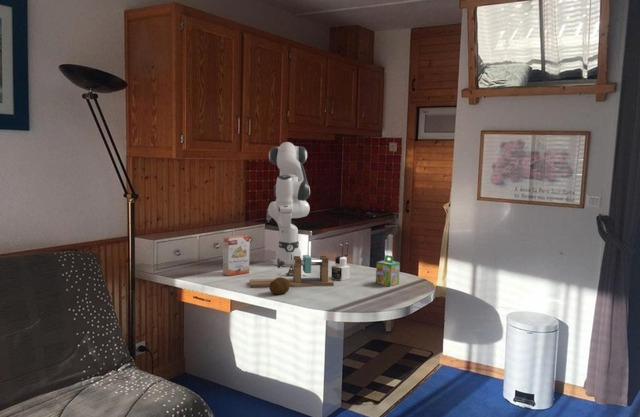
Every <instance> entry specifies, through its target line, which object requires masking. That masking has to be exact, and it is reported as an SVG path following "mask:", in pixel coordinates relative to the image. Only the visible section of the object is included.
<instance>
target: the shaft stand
mask: <svg viewBox="0 0 640 417" xmlns="http://www.w3.org/2000/svg"><path fill="white" fill-rule="evenodd" d="M320 259H322V265H319V277H302V266H301V260H302V257H301V258H300V256H294V260H295V266H293V277H292V278H291V277H290V278H286V279H287V280H288V281H289V282H290V288H296V287H297V288H298V287H303V288H304V287H328V286H329V287H331V286H335V285H334V281H333V279H332V278H330V277H329V257H328V256H327V255H319V260H320ZM275 279H276V278H262V279H261V278H257V279H255V278H254V279H249V284H250V288H251V289H256V288H257V289H258V288H260V289H262V288H263V289H264V288H265V289H266V288H269V286H270V283H271V282H272V281H273V280H275Z"/></svg>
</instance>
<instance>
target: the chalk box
mask: <svg viewBox="0 0 640 417" xmlns="http://www.w3.org/2000/svg"><path fill="white" fill-rule="evenodd" d="M388 258H389V259H390V260H389V259H388ZM375 267H376V268H375V269H376V272H375V284H377V285H382V286H386V287H392V286H395V285H398V284H400V274H401V273H400V271H401V270H400V269H401V263H400V262H399V261H394V256H393V255H387V254H386V255H385V257H384V260H380V261H376V266H375Z"/></svg>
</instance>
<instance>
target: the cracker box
mask: <svg viewBox="0 0 640 417" xmlns="http://www.w3.org/2000/svg"><path fill="white" fill-rule="evenodd" d="M250 238H251V237H250V236H248V235H245V234H244V235H233V236H224V237H222V239H223V240H222V241H223V244H222V247H223V248H222V250H223V251H222V275H224V276H227V277H231V276H237V275H238V276H239V275H245V274H249V273H250V251H251V250H250V247H251V246H250V245H251V244H250V243H251V239H250Z"/></svg>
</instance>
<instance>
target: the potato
mask: <svg viewBox="0 0 640 417" xmlns="http://www.w3.org/2000/svg"><path fill="white" fill-rule="evenodd" d="M274 279H275V280H273V281H272V282H271V283H270V286H269V287H268V288H269V291H270V293H271V294H273V295H281V294H284V293H287V292H289V290H290V288H291V287H290V282H289V281H288V280H287V279H288V278H285V277H281V276H280V277H276V278H274Z"/></svg>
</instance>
